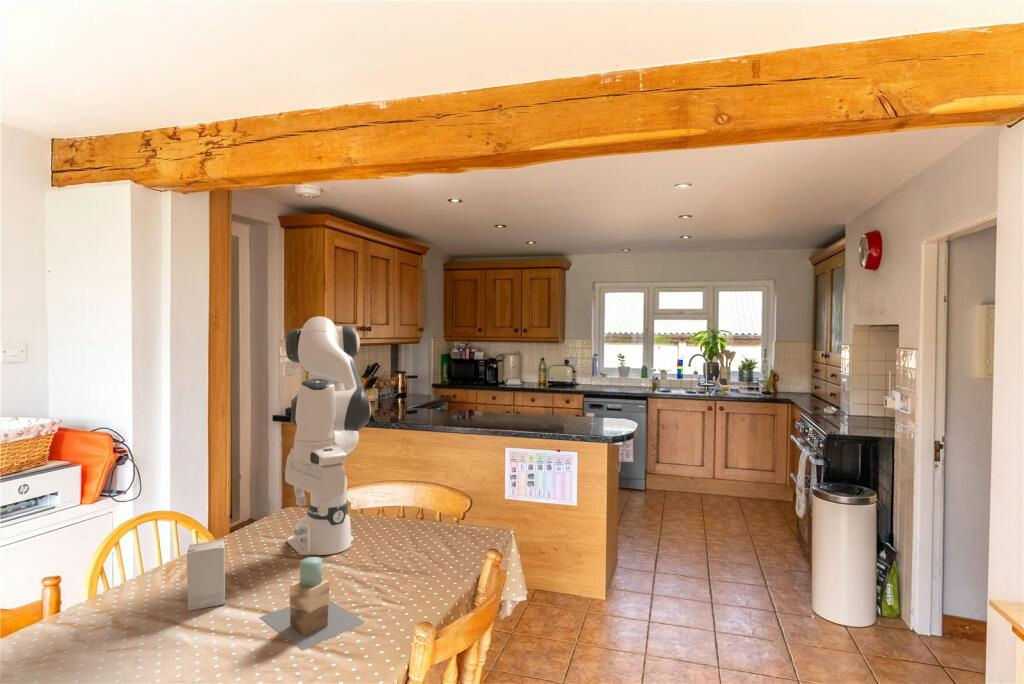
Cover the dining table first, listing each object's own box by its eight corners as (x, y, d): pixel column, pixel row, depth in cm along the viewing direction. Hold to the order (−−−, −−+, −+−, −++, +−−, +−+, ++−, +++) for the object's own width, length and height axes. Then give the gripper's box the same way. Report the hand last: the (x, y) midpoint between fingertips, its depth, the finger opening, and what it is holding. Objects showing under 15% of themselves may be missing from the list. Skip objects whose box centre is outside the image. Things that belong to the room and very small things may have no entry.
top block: (289, 607, 126) (290, 585, 126) (309, 596, 131) (310, 575, 131) (309, 613, 123) (309, 591, 123) (328, 602, 129) (329, 580, 129)
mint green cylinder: (295, 582, 127) (296, 561, 127) (314, 576, 131) (315, 555, 131) (306, 589, 124) (307, 567, 124) (325, 582, 128) (326, 561, 128)
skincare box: (225, 595, 143) (226, 538, 143) (224, 606, 138) (225, 546, 137) (187, 601, 139) (189, 542, 139) (185, 612, 134) (186, 551, 134)
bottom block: (290, 626, 127) (290, 604, 127) (314, 616, 132) (314, 595, 132) (303, 636, 123) (304, 613, 123) (327, 625, 128) (328, 604, 128)
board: (258, 621, 131) (259, 617, 131) (320, 598, 143) (320, 594, 143) (302, 654, 118) (302, 650, 118) (366, 626, 130) (366, 622, 130)
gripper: (279, 444, 131) (276, 502, 132) (325, 460, 118) (322, 524, 118) (304, 441, 136) (301, 497, 136) (351, 456, 123) (348, 518, 123)
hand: (311, 510), depth 127 cm, fingers open, 8 cm apart
